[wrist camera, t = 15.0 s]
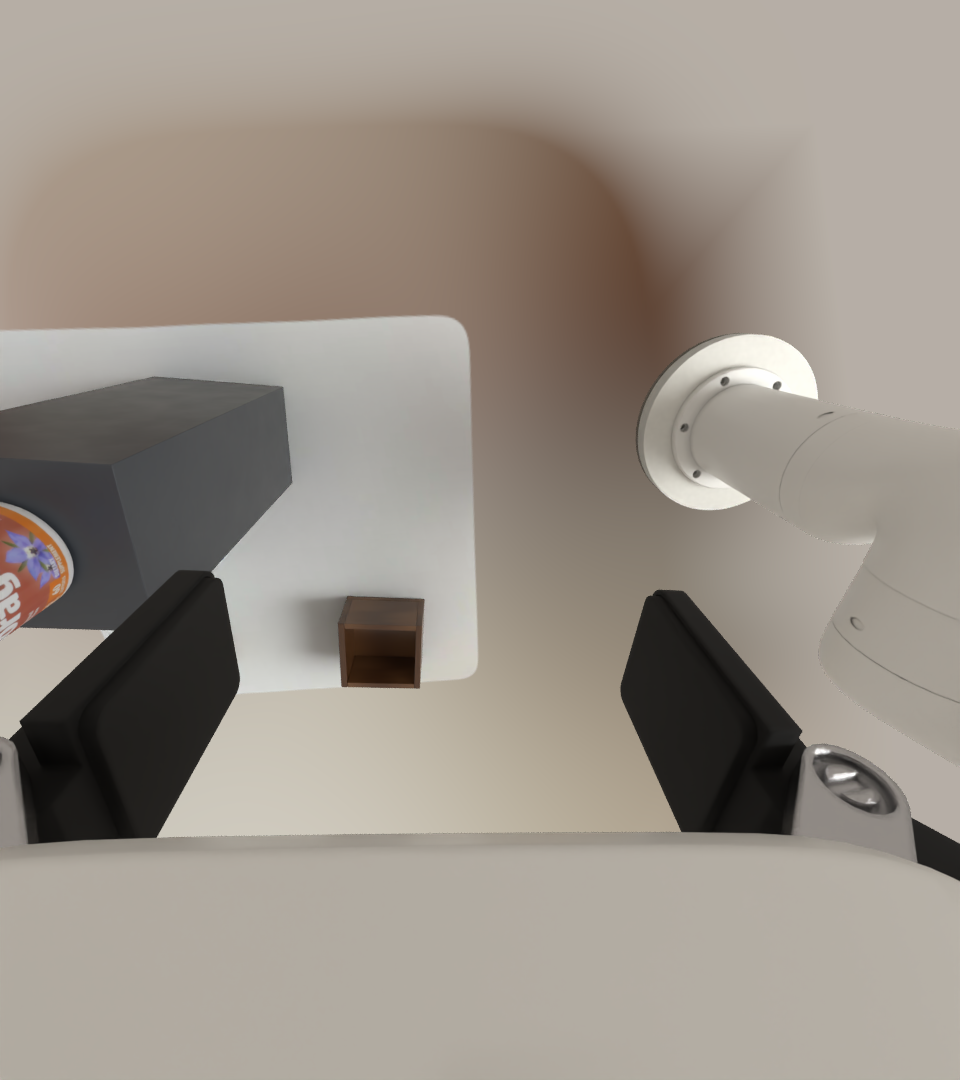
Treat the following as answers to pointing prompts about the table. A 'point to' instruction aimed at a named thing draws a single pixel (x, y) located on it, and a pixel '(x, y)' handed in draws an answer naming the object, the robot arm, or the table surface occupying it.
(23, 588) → the pill bottle
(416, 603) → the wooden box
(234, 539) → the block
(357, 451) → the table surface
